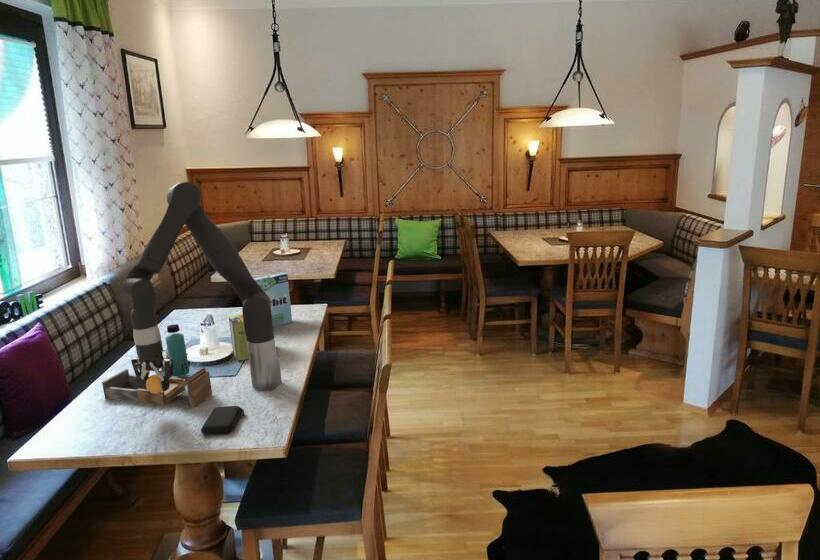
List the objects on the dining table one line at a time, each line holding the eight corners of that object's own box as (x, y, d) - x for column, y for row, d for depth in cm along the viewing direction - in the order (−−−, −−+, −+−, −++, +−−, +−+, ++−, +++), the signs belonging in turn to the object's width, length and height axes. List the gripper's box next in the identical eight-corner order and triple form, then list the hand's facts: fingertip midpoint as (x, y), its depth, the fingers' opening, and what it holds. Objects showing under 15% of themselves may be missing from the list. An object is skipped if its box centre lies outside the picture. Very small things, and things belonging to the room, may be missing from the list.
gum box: (252, 332, 257) (246, 282, 251) (248, 329, 261) (242, 280, 255) (292, 322, 268) (288, 274, 262) (288, 319, 272) (283, 272, 266)
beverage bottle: (184, 381, 209) (176, 328, 204) (167, 380, 210) (159, 328, 205) (194, 373, 215) (186, 322, 210) (178, 372, 217) (170, 322, 211)
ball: (172, 388, 187) (168, 371, 185) (159, 397, 181) (156, 379, 179) (156, 387, 188) (153, 370, 187) (143, 396, 183) (140, 378, 181)
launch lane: (214, 393, 198) (210, 366, 196) (194, 408, 188) (189, 379, 186) (128, 384, 208) (123, 358, 206) (105, 398, 198) (99, 371, 196)
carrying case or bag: (236, 435, 171) (247, 411, 185) (235, 426, 170) (246, 403, 184) (199, 437, 171) (214, 413, 185) (198, 428, 170) (212, 405, 184)
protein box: (276, 353, 231) (272, 316, 227) (237, 361, 225) (232, 323, 221) (270, 345, 241) (266, 309, 236) (232, 352, 234) (227, 316, 230)
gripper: (175, 336, 181) (184, 385, 186) (137, 334, 185) (146, 382, 190) (159, 345, 174) (168, 396, 179) (119, 343, 178) (130, 393, 183)
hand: (157, 389), depth 184 cm, fingers closed on ball, 6 cm apart
